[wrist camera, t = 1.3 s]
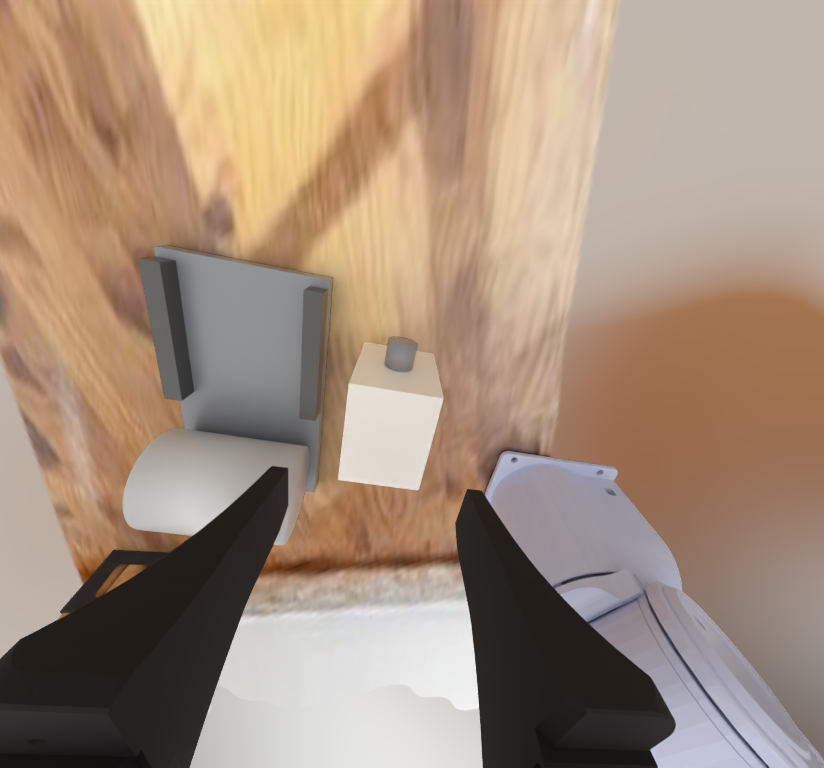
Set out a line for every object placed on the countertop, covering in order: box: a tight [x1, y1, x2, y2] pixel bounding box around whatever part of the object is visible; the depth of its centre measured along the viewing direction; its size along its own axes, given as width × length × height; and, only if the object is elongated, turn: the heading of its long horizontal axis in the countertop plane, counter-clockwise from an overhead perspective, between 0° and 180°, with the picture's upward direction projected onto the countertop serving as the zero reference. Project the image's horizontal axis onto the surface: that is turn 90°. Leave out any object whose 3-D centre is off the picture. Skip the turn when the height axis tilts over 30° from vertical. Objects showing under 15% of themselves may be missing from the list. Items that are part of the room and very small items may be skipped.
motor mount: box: [123, 245, 333, 546], centre depth 18 cm, size 9×16×7 cm, turn 169°
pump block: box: [338, 337, 444, 490], centre depth 18 cm, size 4×7×6 cm, turn 169°
